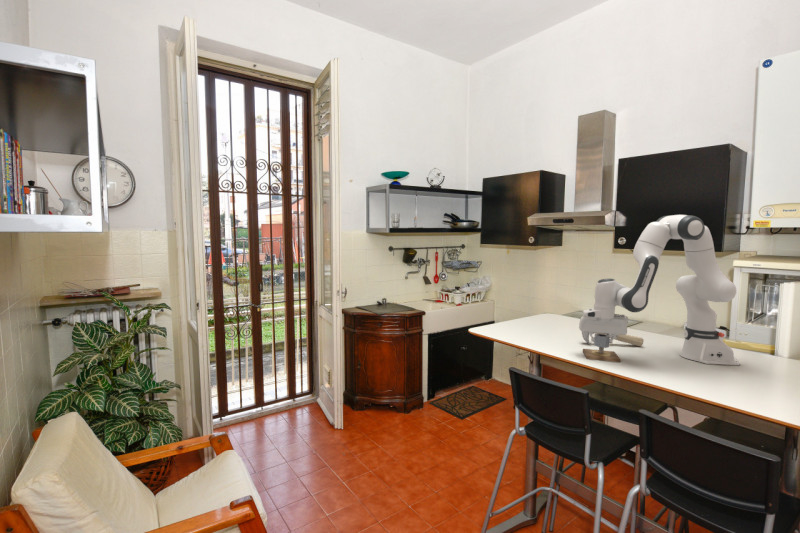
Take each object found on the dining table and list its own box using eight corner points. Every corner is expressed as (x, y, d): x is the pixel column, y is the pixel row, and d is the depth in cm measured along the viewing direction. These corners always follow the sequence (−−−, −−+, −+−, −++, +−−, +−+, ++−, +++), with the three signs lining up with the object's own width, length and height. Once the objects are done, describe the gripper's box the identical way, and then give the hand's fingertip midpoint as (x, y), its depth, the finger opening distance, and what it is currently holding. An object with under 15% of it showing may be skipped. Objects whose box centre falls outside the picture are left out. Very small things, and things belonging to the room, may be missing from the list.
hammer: (643, 327, 212) (586, 312, 214) (648, 329, 208) (589, 314, 209) (633, 355, 214) (577, 340, 216) (638, 358, 209) (580, 342, 211)
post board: (614, 354, 196) (615, 341, 195) (620, 362, 184) (621, 348, 184) (582, 351, 199) (583, 338, 199) (586, 358, 188) (587, 345, 187)
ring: (606, 344, 193) (607, 334, 193) (609, 348, 187) (610, 337, 187) (593, 343, 195) (593, 333, 194) (595, 346, 189) (596, 336, 189)
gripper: (626, 313, 190) (624, 342, 191) (579, 310, 195) (577, 338, 197) (630, 316, 184) (628, 346, 185) (581, 312, 189) (579, 341, 191)
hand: (601, 342), depth 191 cm, fingers closed on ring, 6 cm apart
